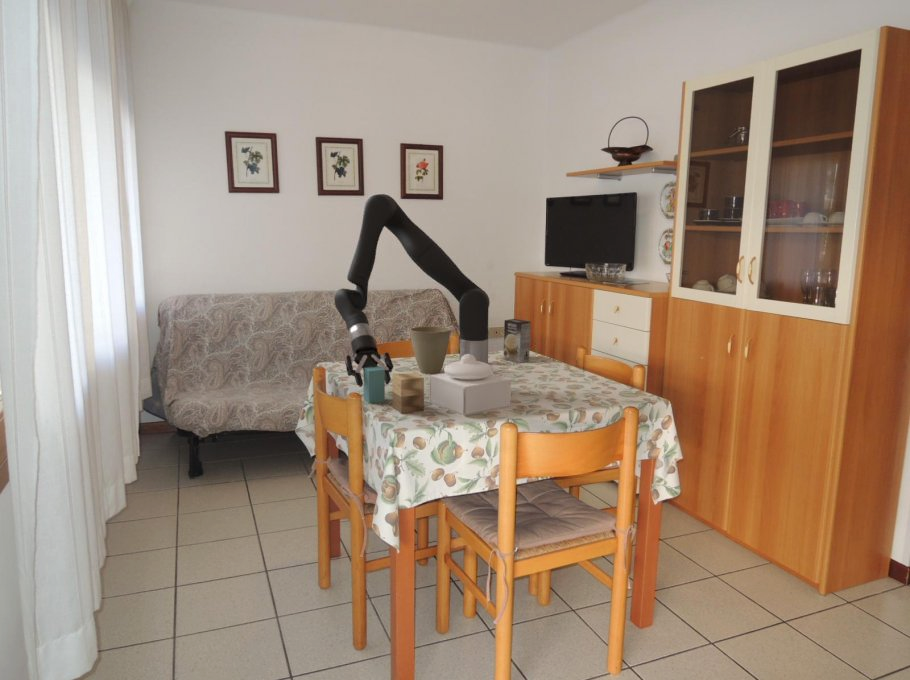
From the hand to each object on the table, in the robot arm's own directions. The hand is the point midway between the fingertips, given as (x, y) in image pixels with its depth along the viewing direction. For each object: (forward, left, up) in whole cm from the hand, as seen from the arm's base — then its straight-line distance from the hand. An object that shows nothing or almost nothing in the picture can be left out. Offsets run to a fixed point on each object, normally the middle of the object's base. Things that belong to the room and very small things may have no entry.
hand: (374, 384), depth 204 cm
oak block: (-10, +9, 0) cm, 14 cm away
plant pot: (-20, -40, -6) cm, 45 cm away
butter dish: (-28, +6, -6) cm, 30 cm away
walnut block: (-10, +9, -5) cm, 15 cm away
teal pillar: (0, -1, -5) cm, 5 cm away
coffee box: (-56, -59, -6) cm, 81 cm away
